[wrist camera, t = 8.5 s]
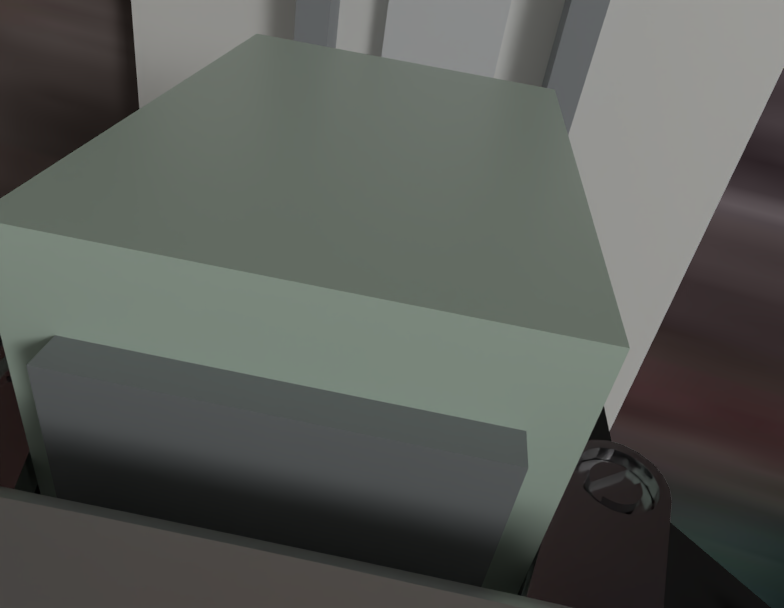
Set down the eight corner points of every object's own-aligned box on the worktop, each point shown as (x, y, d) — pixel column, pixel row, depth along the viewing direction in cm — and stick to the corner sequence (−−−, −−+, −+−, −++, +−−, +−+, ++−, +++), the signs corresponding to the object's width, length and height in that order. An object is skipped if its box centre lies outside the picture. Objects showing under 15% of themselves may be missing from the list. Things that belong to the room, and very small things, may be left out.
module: (555, 89, 10) (639, 385, 4) (455, 432, 15) (429, 814, 9) (256, 33, 11) (-68, 242, 4) (247, 389, 15) (78, 737, 9)
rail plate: (942, -317, 15) (1017, -352, 13) (603, 416, 28) (611, 459, 26) (120, -454, 16) (59, -507, 14) (168, 325, 29) (142, 361, 27)
